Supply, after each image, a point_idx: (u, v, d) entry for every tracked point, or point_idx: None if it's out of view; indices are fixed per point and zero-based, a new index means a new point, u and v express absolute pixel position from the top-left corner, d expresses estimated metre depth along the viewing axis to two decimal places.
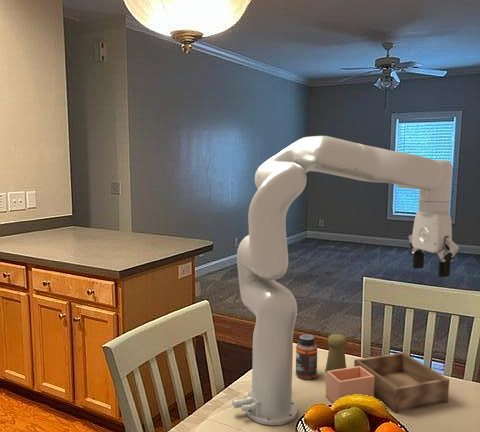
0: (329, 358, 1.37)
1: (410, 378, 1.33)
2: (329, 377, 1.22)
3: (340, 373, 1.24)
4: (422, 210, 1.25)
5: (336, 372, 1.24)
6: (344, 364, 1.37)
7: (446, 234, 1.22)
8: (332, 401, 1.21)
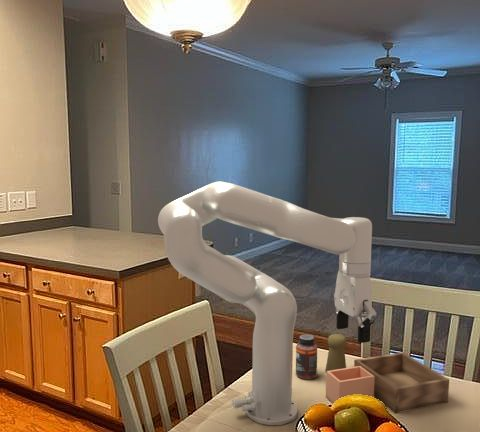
0: (329, 358, 1.37)
1: (410, 378, 1.33)
2: (329, 377, 1.22)
3: (340, 373, 1.24)
4: (341, 271, 1.18)
5: (336, 372, 1.24)
6: (344, 364, 1.37)
7: (364, 298, 1.15)
8: (332, 401, 1.21)
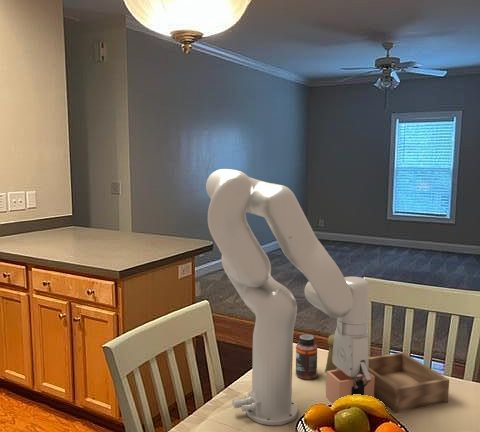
0: (329, 358, 1.37)
1: (410, 378, 1.33)
2: (329, 377, 1.22)
3: (340, 373, 1.24)
4: (339, 330, 1.20)
5: (336, 372, 1.24)
6: None
7: (362, 359, 1.17)
8: (332, 401, 1.21)
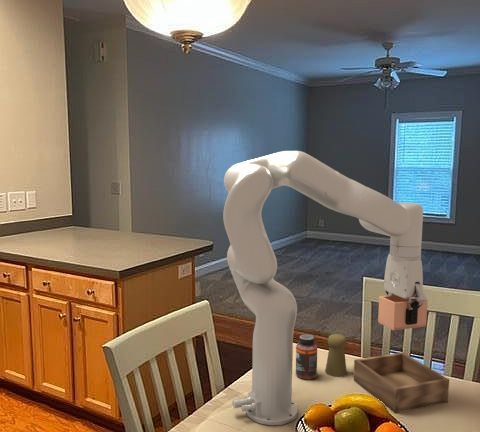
0: (329, 358, 1.37)
1: (410, 378, 1.33)
2: (382, 301, 1.25)
3: (392, 299, 1.27)
4: (393, 254, 1.22)
5: (388, 297, 1.27)
6: (344, 364, 1.37)
7: (416, 280, 1.19)
8: (386, 324, 1.24)
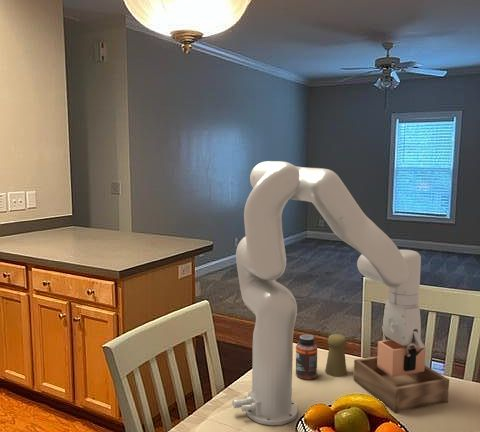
0: (329, 358, 1.37)
1: (410, 378, 1.33)
2: (381, 347, 1.26)
3: (391, 343, 1.29)
4: (391, 301, 1.24)
5: (387, 342, 1.28)
6: (344, 364, 1.37)
7: (414, 328, 1.21)
8: (385, 370, 1.25)
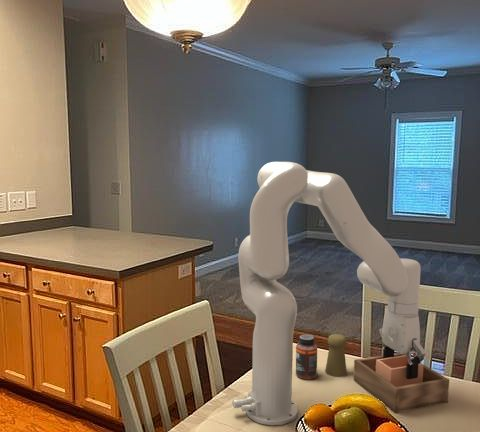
0: (329, 358, 1.37)
1: None
2: (379, 365, 1.27)
3: (389, 361, 1.29)
4: (390, 310, 1.24)
5: (385, 360, 1.29)
6: (344, 364, 1.37)
7: (413, 337, 1.21)
8: None
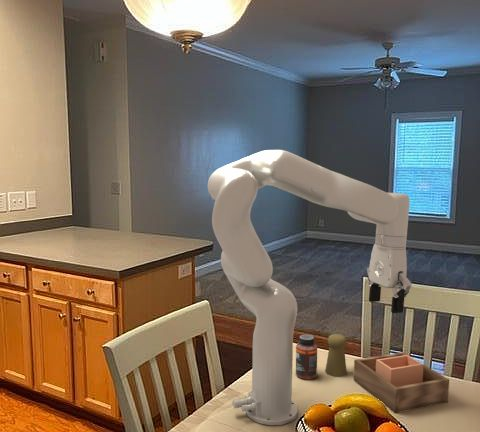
0: (329, 358, 1.37)
1: None
2: (379, 365, 1.27)
3: (389, 361, 1.29)
4: (378, 243, 1.22)
5: (385, 360, 1.29)
6: (344, 364, 1.37)
7: (400, 270, 1.19)
8: None
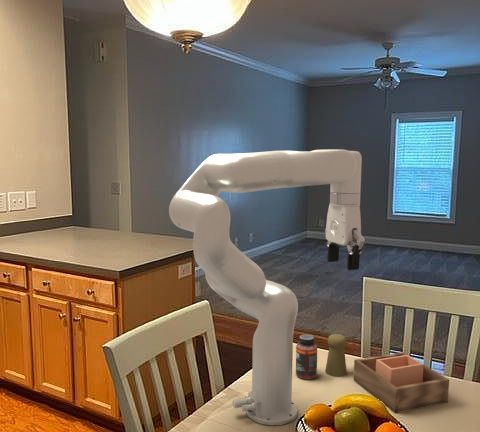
0: (329, 358, 1.37)
1: None
2: (379, 365, 1.27)
3: (389, 361, 1.29)
4: (332, 202, 1.23)
5: (385, 360, 1.29)
6: (344, 364, 1.37)
7: (354, 226, 1.20)
8: None
